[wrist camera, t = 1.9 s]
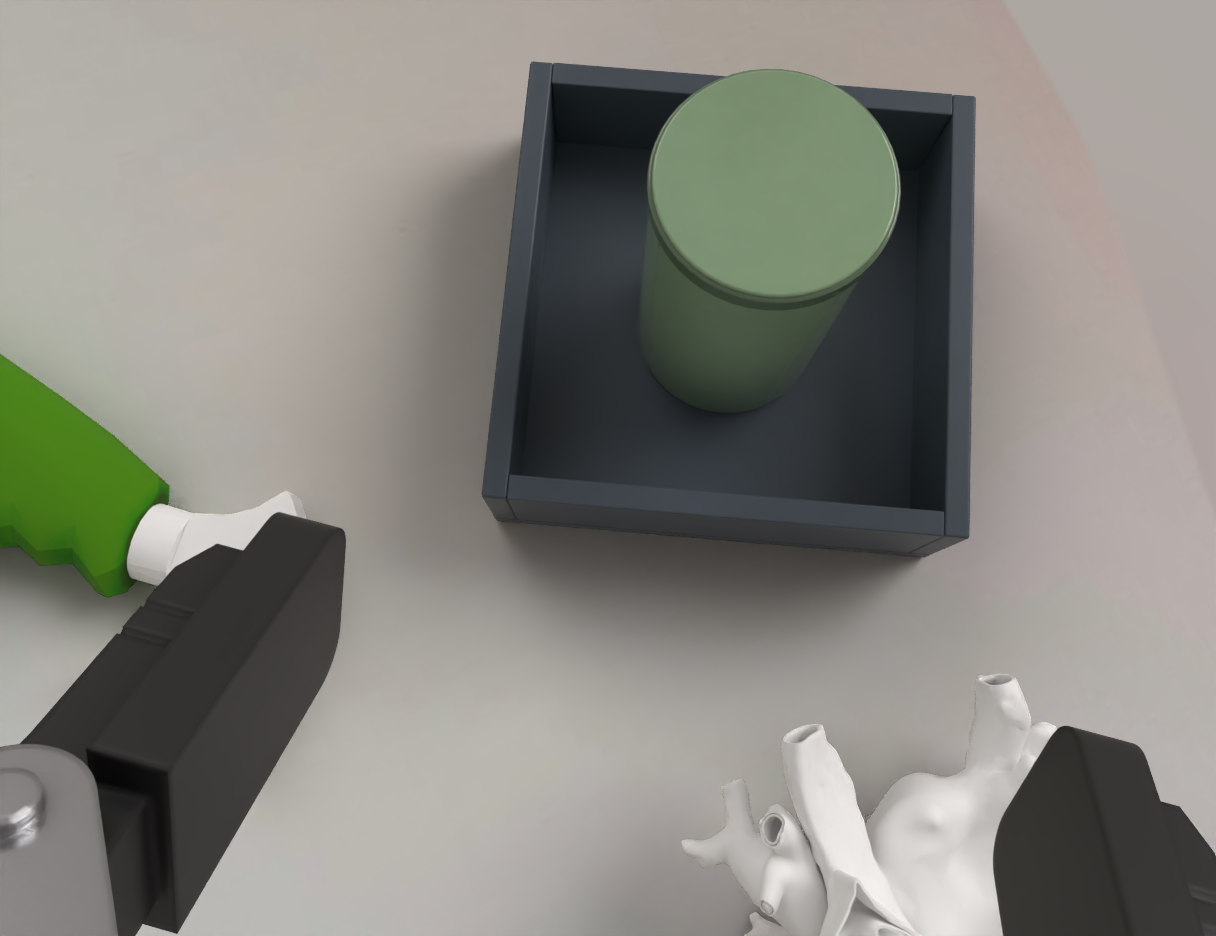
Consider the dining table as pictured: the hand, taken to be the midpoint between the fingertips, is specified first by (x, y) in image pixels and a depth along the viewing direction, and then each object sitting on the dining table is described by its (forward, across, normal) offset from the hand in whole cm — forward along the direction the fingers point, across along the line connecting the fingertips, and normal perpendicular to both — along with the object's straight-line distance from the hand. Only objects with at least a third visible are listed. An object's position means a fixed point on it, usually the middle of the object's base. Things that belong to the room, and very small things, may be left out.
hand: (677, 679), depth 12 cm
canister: (+22, 0, +6) cm, 23 cm away
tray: (+23, 0, +6) cm, 24 cm away
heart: (+12, -9, +18) cm, 23 cm away
